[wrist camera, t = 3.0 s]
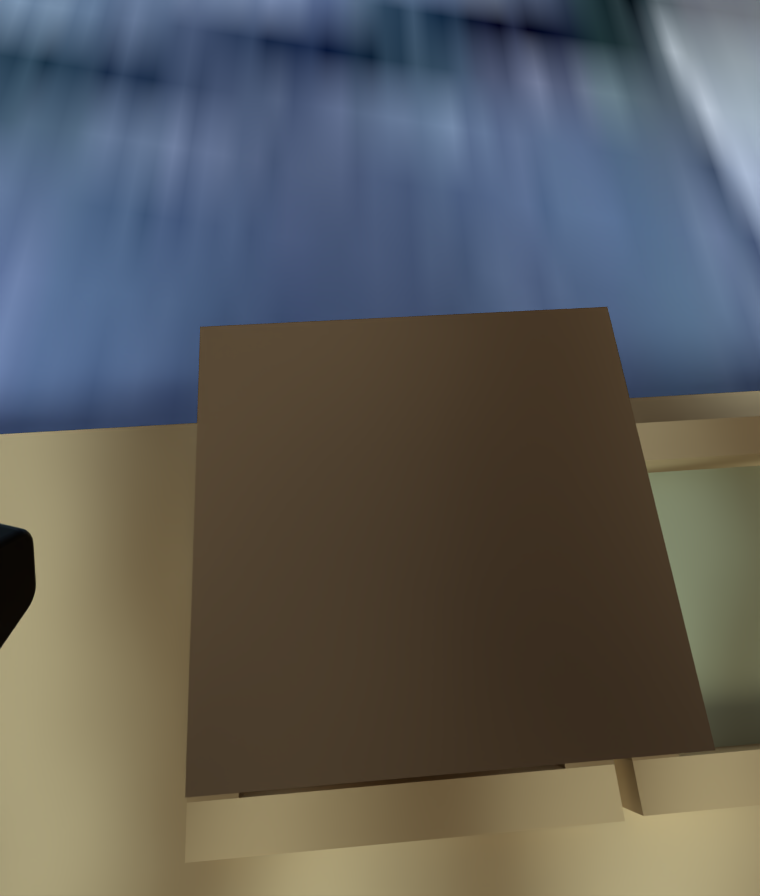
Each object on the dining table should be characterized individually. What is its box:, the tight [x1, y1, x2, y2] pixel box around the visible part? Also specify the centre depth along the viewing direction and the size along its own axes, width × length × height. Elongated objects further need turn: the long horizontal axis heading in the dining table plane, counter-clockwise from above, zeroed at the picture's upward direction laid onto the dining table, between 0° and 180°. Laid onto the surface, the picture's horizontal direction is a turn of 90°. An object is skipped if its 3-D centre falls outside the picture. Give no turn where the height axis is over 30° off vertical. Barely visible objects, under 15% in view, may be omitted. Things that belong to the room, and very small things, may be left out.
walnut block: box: [185, 307, 715, 798], centre depth 11 cm, size 4×4×10 cm
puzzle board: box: [0, 391, 760, 896], centre depth 13 cm, size 26×22×3 cm
